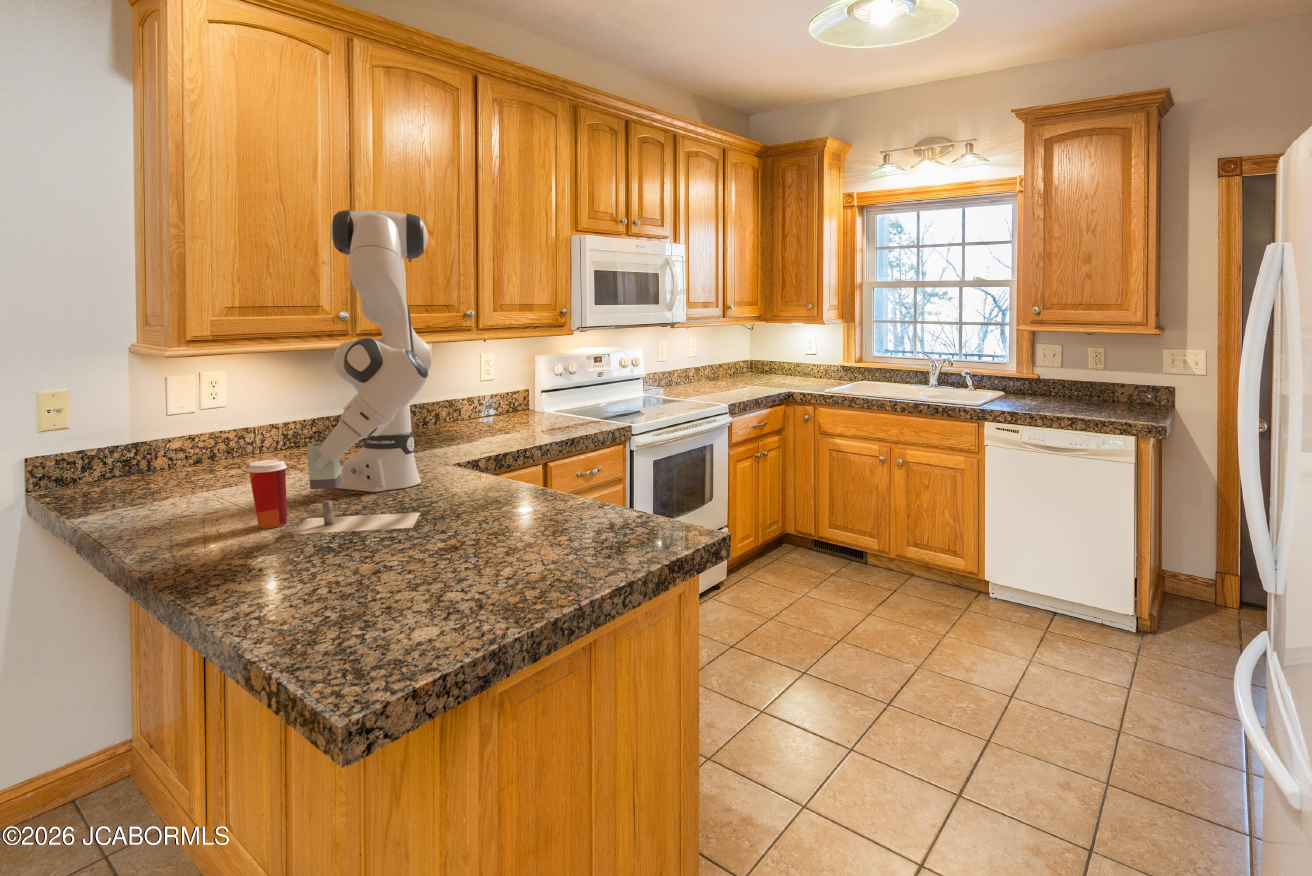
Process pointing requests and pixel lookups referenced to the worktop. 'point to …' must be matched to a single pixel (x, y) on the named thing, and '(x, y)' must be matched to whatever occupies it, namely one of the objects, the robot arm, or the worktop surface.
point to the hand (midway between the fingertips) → (321, 464)
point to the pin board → (354, 522)
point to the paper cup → (269, 492)
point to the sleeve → (322, 470)
